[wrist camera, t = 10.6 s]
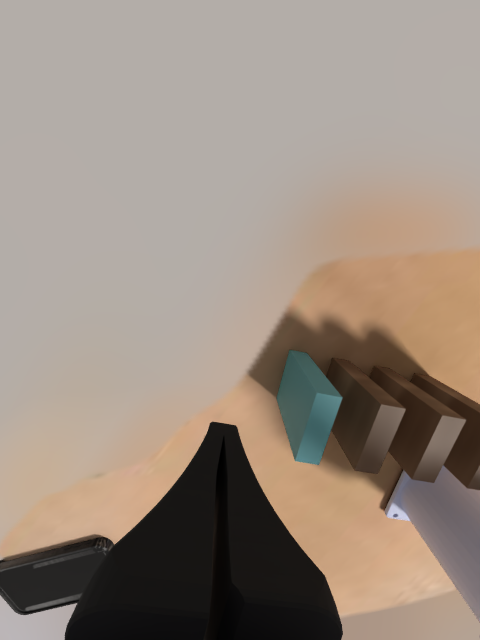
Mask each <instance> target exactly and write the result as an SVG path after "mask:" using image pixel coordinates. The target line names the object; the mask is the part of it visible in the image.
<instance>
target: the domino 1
mask: <svg viewBox="0 0 480 640" xmlns="http://www.w3.org/2000/svg"><path fill="white" fill-rule="evenodd" d="M326 378H327V379H328V380H329V381H330V383H331V384H332V385H333V386H334V387H335V389H336V390H337V391H338V392H339V394H340V395H341V396H342V397H343V398H342V401H341V403H340V406H339V409H338V412H337V415H336V418H335V421H334V423H333V426H332V429H331V430H332V432H333V434H334V435H335V437H336V439H337V441H338V442H339V444H340V446H341V447H342V449H343V451H344V453H345V454H346V456H347V458H348V460H349V461H350V463H351V465H352V467H353V468H354V470H355V471H361V472H367V473H374V474H378V473H379V470H380V468H381V466H382V463H383V461H384V459H385V456H386V454H387V452H388V449H389V447H390V445H391V442H392V440H393V438H394V436H395V433H396V431H397V429H398V426H399V424H400V422H401V419H402V417H403V415H404V412H405V410H406V408H404V407H403V406H402V405H401V404H400V403H398V402H397V401H396V400H395V399H394V398H393V397H391V396H390V395H389V394H388V393H387V392H385V391H384V390H383V389H382V388H381V387H380V386H378V385H377V384H376V383H375V382H374V381H372V380H371V379H370V378H369V377H368V376H366V375H365V374H364V373H363V372H362V371H361V370H359V369H358V368H357V367H356V366H355V365H353V364H352V363H351V362H350V361H347V360H342V359H336V358H332V361H331V364H330V367H329V370H328V373H327V376H326Z"/></svg>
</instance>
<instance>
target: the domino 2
mask: <svg viewBox="0 0 480 640" xmlns="http://www.w3.org/2000/svg"><path fill="white" fill-rule="evenodd" d="M370 379H371V380H372V381H374V382H375V383H376V384H377V385H378V386H380V387H381V388H382V389H383V390H384V391H385V392H387V393H388V394H389V395H390V396H391V397H393V398H394V399H395V400H396V401H397V402H398V403H400V404H401V405H402V406H403V407H404V408H406V410H405V412H404V415H403V417H402V419H401V422H400V424H399V426H398V429H397V431H396V433H395V436H394V438H393V440H392V442H391V445H390V447H389V449H388V451H389V452H390V454H391V455H392V456H393V457H394V459H395V460H396V461H397V462H398V463H399V465H400V466H401V467H402V468H403V470H404V471H405V472H406V473H407V474H408V476H409V477H410V478H411V479H412V480H418V481H424V482H430V483H434V482H435V480H436V478H437V476H438V474H439V472H440V470H441V468H442V467H443V465H444V463H445V461H446V459H447V457H448V455H449V453H450V451H451V449H452V447H453V445H454V443H455V441H456V439H457V437H458V435H459V433H460V431H461V429H462V427H463V425H464V424H465V422H466V419H465V418H463V417H462V416H460V415H459V414H457V413H456V412H454V411H453V410H451V409H450V408H448V407H447V406H445V405H444V404H442V403H441V402H439V401H438V400H436V399H435V398H433V397H432V396H430V395H429V394H427V393H426V392H424V391H423V390H421V389H420V388H418V387H417V386H415V385H414V384H412V383H411V382H409V381H408V380H406V379H405V378H403V377H402V376H400V375H399V374H397V373H396V372H394V371H393V370H391V369H389V368H384V367H379V366H374V367H373V370H372V372H371V375H370Z"/></svg>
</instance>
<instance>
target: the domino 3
mask: <svg viewBox="0 0 480 640" xmlns="http://www.w3.org/2000/svg"><path fill="white" fill-rule="evenodd" d="M411 383H412V384H414V385H415V386H417V387H418V388H420V389H421V390H423V391H424V392H426V393H427V394H429V395H430V396H432V397H433V398H435V399H436V400H438V401H439V402H441V403H442V404H444V405H445V406H447V407H448V408H450V409H451V410H453V411H454V412H456V413H457V414H459V415H460V416H462V417H463V418H465V419H466V422H465V424H464V425H463V427H462V429H461V431H460V433H459V435H458V437H457V439H456V441H455V443H454V445H453V447H452V449H451V451H450V453H449V455H448V457H447V459H446V461H445V463H444V465H443V466H444V467H445V468H446V469H447V470H449V471H450V472H451V473H452V474H453V475H454V476H455V477H456V478H457V479H458V480H459V481H460V482H461V483H462V484H463V485H464V486H465V487H466V488H468V489H474V490H480V404H478V403H476V402H475V401H473V400H471V399H469V398H468V397H466V396H464V395H462V394H461V393H459V392H457V391H455V390H454V389H452V388H450V387H448V386H446V385H445V384H443V383H441V382H439V381H438V380H436V379H434V378H432V377H431V376H426V375H421V374H415V373H414V376H413V378H412V380H411Z"/></svg>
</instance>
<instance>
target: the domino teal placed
mask: <svg viewBox="0 0 480 640" xmlns="http://www.w3.org/2000/svg"><path fill="white" fill-rule="evenodd" d="M342 398H343V397H342V396H341V395H340V394H339V392H338V391H337V390H336V389H335V387H334V386H333V385H332V384H331V383H330V381H329V380H328V379H327V378H326V376H325V375H324V374H323V373H322V371H321V370H320V369H319V368H318V366H317V365H316V364H315V363H314V361H313V360H312V359H311V358H310V356H309V355H308V354H307V353H304V352H299V351H294V350H289V354H288V358H287V361H286V365H285V369H284V372H283V376H282V380H281V383H280V387H279V391H278V394H277V402H278V405H279V409H280V412H281V415H282V419H283V422H284V425H285V429H286V432H287V435H288V439H289V442H290V446H291V449H292V452H293V456H294V459H295V461H298V462H304V463H310V464H317V465H319V463H320V460H321V458H322V455H323V452H324V449H325V446H326V443H327V440H328V438H329V435H330V432H331V429H332V426H333V423H334V421H335V418H336V415H337V412H338V409H339V406H340V403H341V401H342Z"/></svg>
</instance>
